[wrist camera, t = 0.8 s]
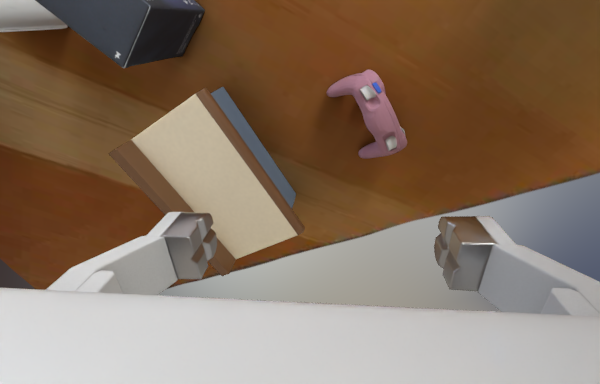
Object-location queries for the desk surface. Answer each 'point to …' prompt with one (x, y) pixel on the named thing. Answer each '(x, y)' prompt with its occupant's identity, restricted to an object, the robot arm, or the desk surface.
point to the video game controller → (373, 112)
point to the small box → (131, 26)
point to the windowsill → (214, 175)
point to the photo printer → (27, 16)
